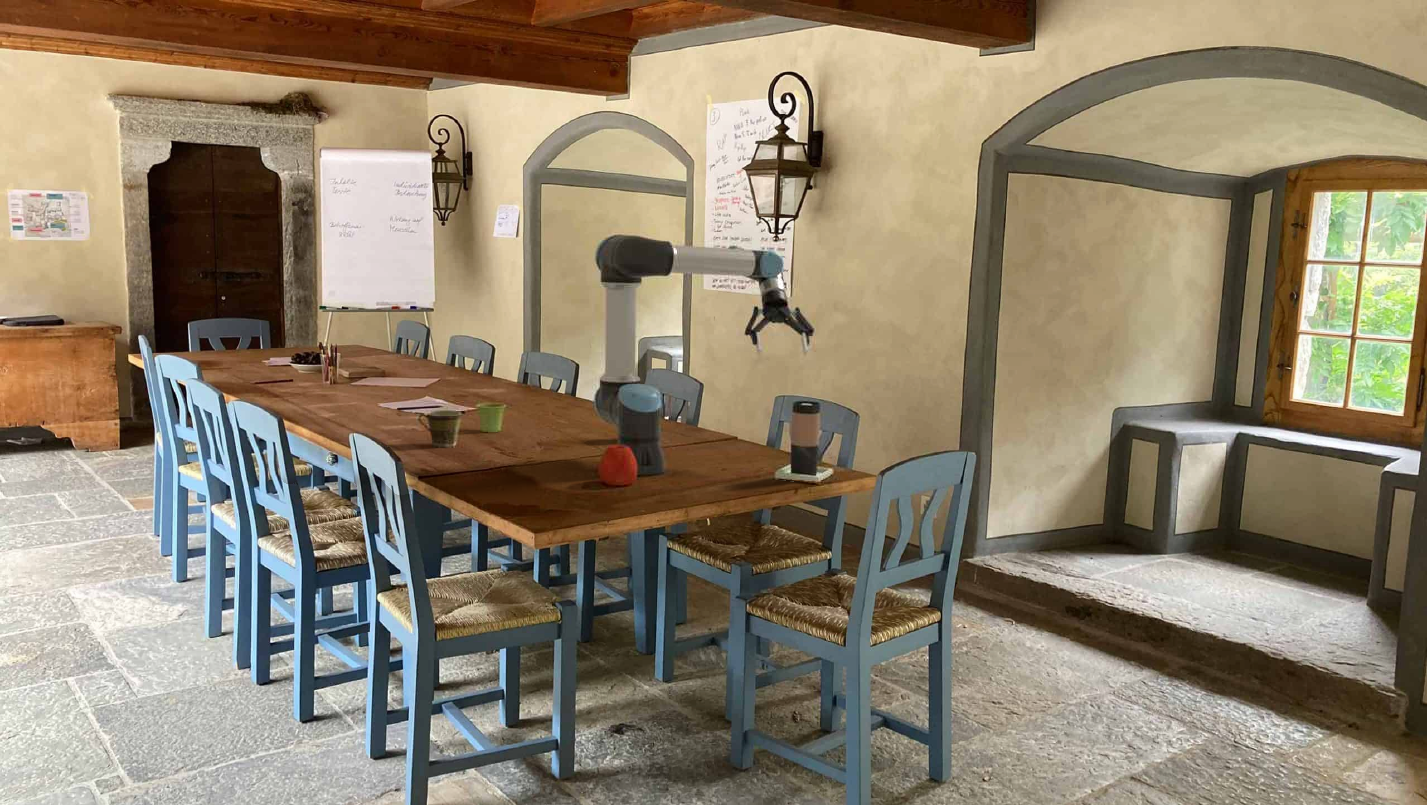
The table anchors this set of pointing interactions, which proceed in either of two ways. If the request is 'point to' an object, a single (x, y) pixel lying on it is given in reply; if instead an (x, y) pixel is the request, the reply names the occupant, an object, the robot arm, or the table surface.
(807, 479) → the holder tray
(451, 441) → the ceramic cup
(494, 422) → the plant pot
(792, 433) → the travel mug
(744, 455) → the table surface
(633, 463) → the apple
